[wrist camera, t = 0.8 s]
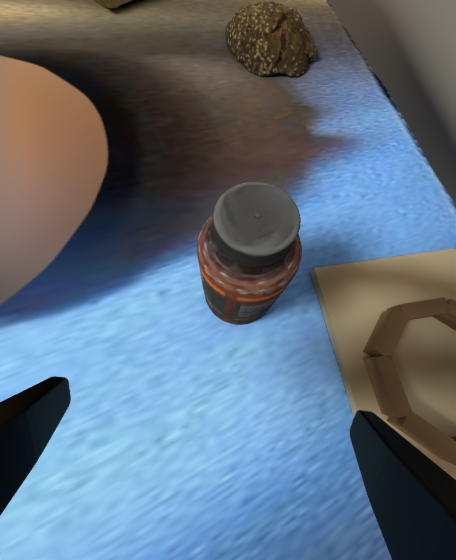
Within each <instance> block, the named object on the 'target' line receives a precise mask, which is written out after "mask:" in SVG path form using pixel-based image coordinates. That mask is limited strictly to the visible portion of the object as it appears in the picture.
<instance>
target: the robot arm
mask: <svg viewBox="0 0 456 560" xmlns="http://www.w3.org/2000/svg"><path fill="white" fill-rule="evenodd" d="M70 400H71V396H70V389H69V381H68V379H67V378H64V377H50V378H48V379H46V380H44V381H42V382H40V383H38V384H36V385H34V386H32V387H30V388H28V389H26V390H24V391H22V392H20V393H18V394H16V395H14V396H12V397H10V398H8V399H6V400H4V401H2V402H0V515H1V514H2V512H3V511H4V509H5V508H6V506H7V505H8V504H9V502H10V501H11V499H12V498H13V496H14V495H15V493H16V492H17V490H18V489H19V487H20V486H21V484H22V483H23V482H24V480H25V479H26V477H27V476H28V474H29V473H30V471H31V470H32V468H33V467H34V465H35V464H36V462H37V461H38V459H39V457H40V456H41V454H42V452H43V451H44V449H45V447H46V445H47V444H48V442H49V440H50V438H51V437H52V435H53V433H54V431H55V430H56V428H57V426H58V424H59V423H60V421H61V419H62V417H63V416H64V414H65V412H66V410H67V409H68V407H69V404H70ZM350 438H351V442H352V445H353V448H354V452H355V455H356V458H357V462H358V465H359V469H360V472H361V475H362V479H363V482H364V485H365V489H366V492H367V495H368V498H369V501H370V503H371V506H372V509H373V511H374V514H375V516H376V519H377V522H378V524H379V527H380V529H381V532H382V535H383V537H384V540H385V542H386V545H387V547H388V550H389V553H390V555H391V558H392V560H456V480H455V479H454V478H453V477H452V476H450V475H449V474H448V473H447V472H445V471H444V470H443V469H442V468H441V467H439V466H438V465H437V464H436V463H434V462H433V461H432V460H431V459H430V458H428V457H427V456H426V455H425V454H423V453H422V452H421V451H420V450H419V449H417V448H416V447H415V446H414V445H413V444H411V443H410V442H409V441H408V440H406V439H405V438H404V437H403V436H402V435H400V434H399V433H398V432H397V431H395V430H394V429H393V428H392V427H391V426H389V425H388V424H387V423H386V422H384V421H383V420H382V419H381V418H380V417H378V416H377V415H376V414H375V413H373V412H371V411H365V410H358V411H357V412H356V414H355V417H354V419H353V422H352V425H351V428H350Z"/></svg>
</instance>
